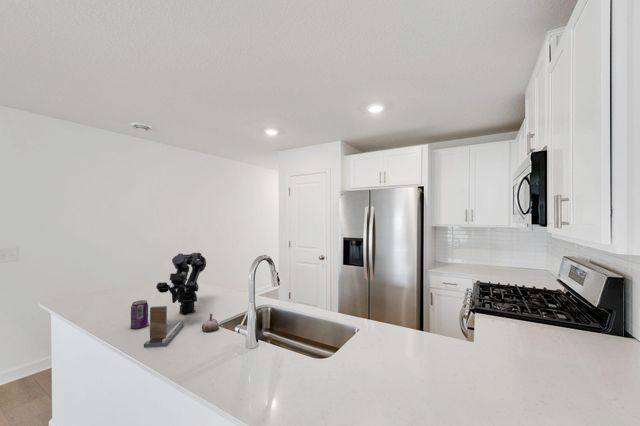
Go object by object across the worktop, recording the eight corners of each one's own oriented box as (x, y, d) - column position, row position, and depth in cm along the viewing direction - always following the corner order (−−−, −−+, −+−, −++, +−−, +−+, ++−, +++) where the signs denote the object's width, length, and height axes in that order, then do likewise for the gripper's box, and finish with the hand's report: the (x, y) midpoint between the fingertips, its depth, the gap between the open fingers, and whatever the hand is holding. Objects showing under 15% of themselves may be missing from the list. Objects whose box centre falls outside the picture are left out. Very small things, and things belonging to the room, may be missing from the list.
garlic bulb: (221, 328, 132) (222, 312, 132) (210, 334, 125) (210, 317, 125) (210, 325, 135) (210, 309, 135) (198, 331, 128) (198, 314, 128)
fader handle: (152, 338, 117) (153, 305, 117) (167, 337, 118) (167, 305, 118) (148, 342, 113) (148, 308, 113) (163, 341, 114) (164, 308, 114)
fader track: (164, 327, 132) (164, 322, 132) (183, 326, 133) (183, 321, 133) (143, 347, 112) (143, 341, 112) (166, 346, 114) (167, 340, 114)
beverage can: (151, 323, 136) (151, 300, 136) (140, 329, 129) (140, 304, 129) (138, 323, 137) (138, 299, 137) (126, 329, 130) (127, 304, 130)
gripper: (157, 266, 136) (147, 295, 125) (197, 265, 139) (190, 293, 128) (164, 278, 144) (154, 306, 133) (201, 277, 146) (195, 304, 136)
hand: (173, 302), depth 132 cm, fingers closed
